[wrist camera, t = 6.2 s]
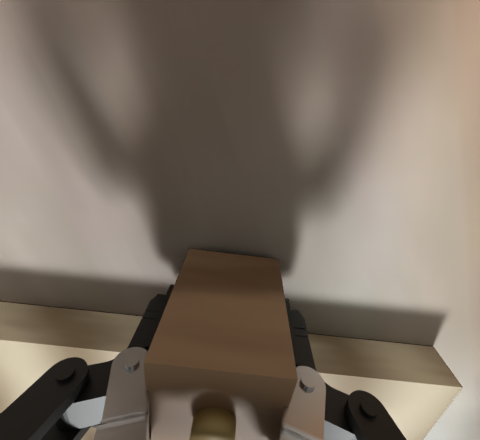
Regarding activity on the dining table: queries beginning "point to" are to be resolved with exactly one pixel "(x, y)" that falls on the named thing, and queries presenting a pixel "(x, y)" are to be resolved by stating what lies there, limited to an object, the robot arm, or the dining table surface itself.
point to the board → (323, 347)
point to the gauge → (221, 352)
